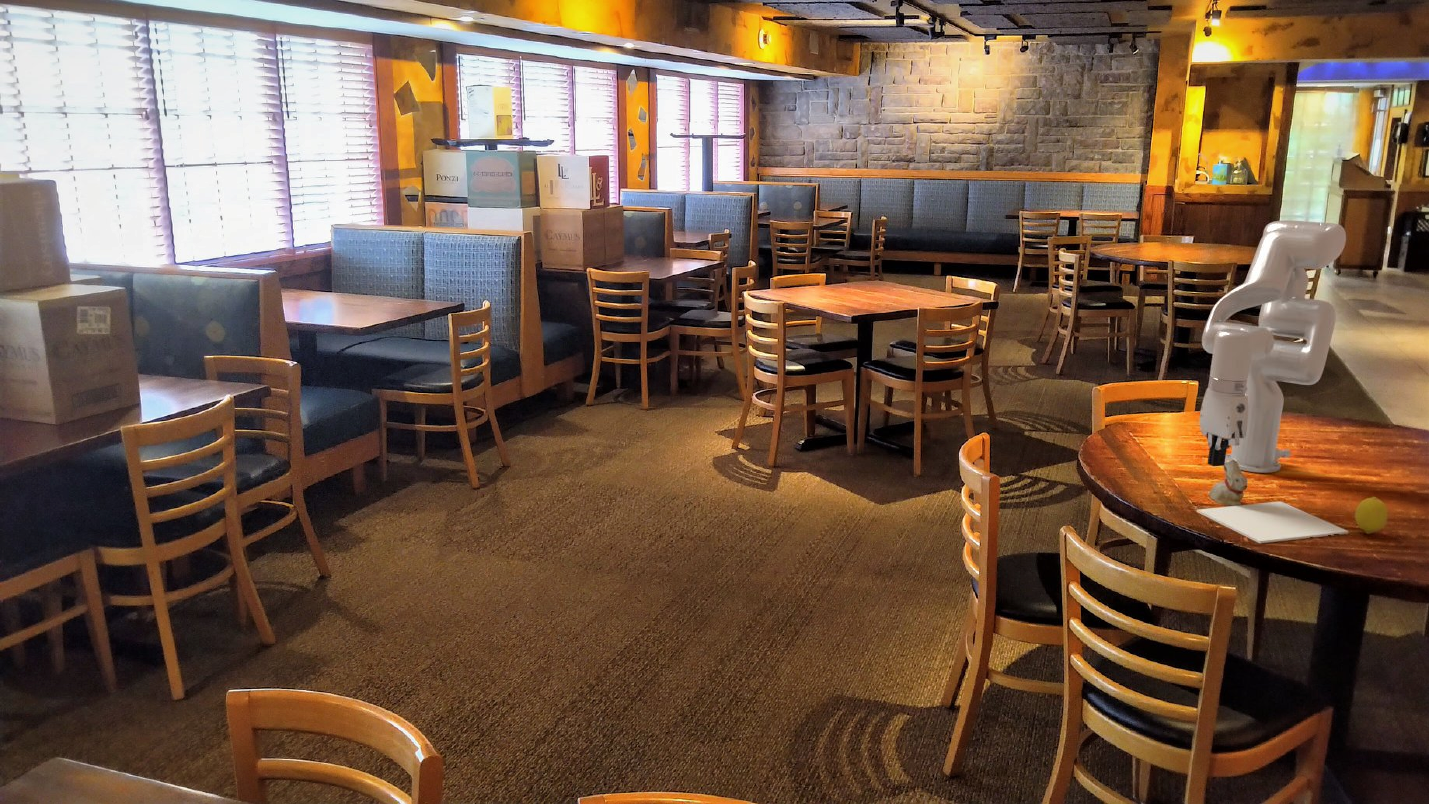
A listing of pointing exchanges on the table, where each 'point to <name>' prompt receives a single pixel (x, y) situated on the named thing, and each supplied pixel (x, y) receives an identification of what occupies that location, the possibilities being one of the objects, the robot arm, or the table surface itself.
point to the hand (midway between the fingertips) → (1215, 464)
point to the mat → (1271, 522)
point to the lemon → (1371, 515)
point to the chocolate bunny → (1230, 486)
